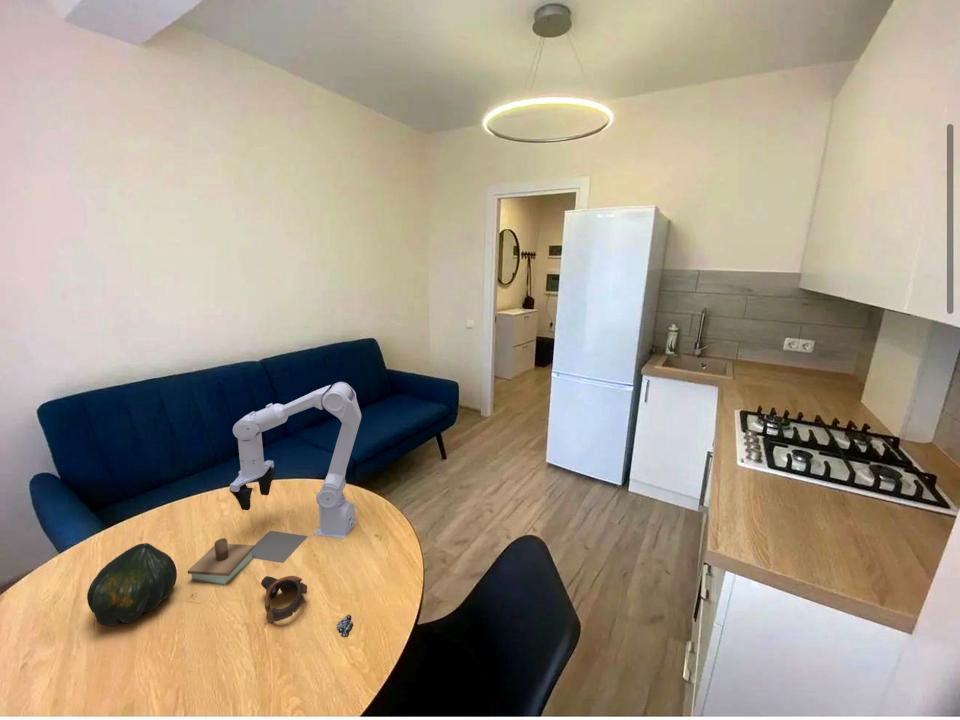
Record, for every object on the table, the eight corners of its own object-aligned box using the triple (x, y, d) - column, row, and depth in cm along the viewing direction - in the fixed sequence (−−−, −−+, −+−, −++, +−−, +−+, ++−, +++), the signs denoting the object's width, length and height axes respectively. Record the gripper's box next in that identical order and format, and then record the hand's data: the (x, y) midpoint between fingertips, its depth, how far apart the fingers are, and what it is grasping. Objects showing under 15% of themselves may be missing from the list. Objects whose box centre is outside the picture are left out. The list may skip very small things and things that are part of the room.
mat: (308, 537, 112) (308, 536, 112) (283, 564, 101) (283, 562, 101) (270, 531, 114) (270, 530, 114) (241, 557, 103) (241, 556, 103)
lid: (254, 547, 103) (252, 530, 102) (228, 576, 93) (226, 556, 92) (217, 545, 103) (215, 528, 102) (187, 573, 93) (185, 554, 92)
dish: (252, 560, 102) (251, 550, 102) (225, 586, 93) (224, 575, 93) (222, 555, 103) (220, 545, 103) (192, 581, 95) (190, 570, 94)
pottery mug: (320, 593, 93) (314, 581, 88) (291, 637, 86) (283, 626, 81) (278, 571, 95) (270, 558, 90) (247, 612, 89) (237, 600, 83)
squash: (52, 622, 77) (106, 562, 77) (101, 570, 91) (147, 520, 92) (123, 651, 81) (174, 594, 82) (160, 598, 95) (203, 550, 96)
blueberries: (362, 611, 89) (362, 604, 89) (365, 639, 82) (365, 631, 81) (331, 619, 87) (330, 612, 86) (331, 648, 79) (330, 640, 79)
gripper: (257, 445, 116) (260, 487, 119) (217, 467, 102) (223, 514, 105) (278, 447, 115) (282, 489, 118) (242, 470, 101) (246, 517, 104)
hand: (255, 501), depth 111 cm, fingers open, 7 cm apart
